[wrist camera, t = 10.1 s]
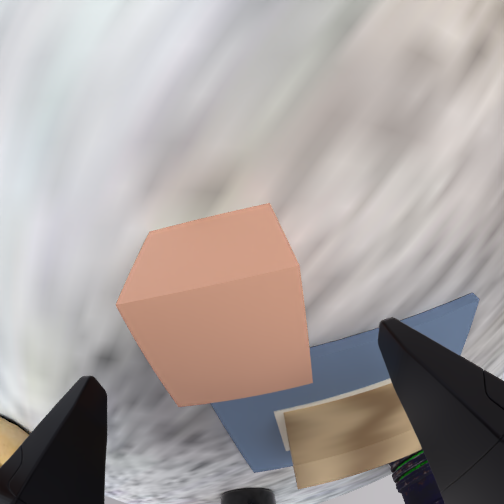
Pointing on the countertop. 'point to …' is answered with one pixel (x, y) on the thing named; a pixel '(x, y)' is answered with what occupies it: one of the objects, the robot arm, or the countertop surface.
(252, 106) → the countertop surface
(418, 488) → the storage jar
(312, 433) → the oak brick
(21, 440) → the onion
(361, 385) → the board
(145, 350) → the terracotta cube
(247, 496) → the supplement bottle
